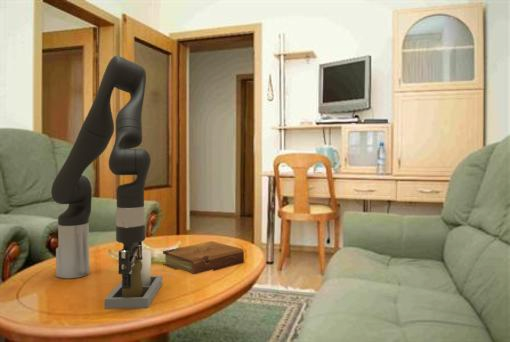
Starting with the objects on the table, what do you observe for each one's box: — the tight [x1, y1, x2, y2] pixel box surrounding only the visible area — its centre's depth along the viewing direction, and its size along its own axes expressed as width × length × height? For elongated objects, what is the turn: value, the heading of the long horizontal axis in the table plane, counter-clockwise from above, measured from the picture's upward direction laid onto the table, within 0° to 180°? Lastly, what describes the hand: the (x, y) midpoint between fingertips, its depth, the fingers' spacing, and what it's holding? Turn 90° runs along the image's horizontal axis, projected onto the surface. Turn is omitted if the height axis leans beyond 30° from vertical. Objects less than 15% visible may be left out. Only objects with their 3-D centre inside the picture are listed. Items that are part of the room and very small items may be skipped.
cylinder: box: [140, 248, 152, 286], centre depth 116 cm, size 6×6×11 cm
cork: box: [122, 259, 144, 297], centre depth 107 cm, size 6×6×11 cm
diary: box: [162, 240, 245, 275], centre depth 145 cm, size 23×19×6 cm
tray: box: [104, 275, 163, 310], centre depth 111 cm, size 11×19×3 cm, turn 2°
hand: (131, 282), depth 106 cm, fingers open, 8 cm apart
